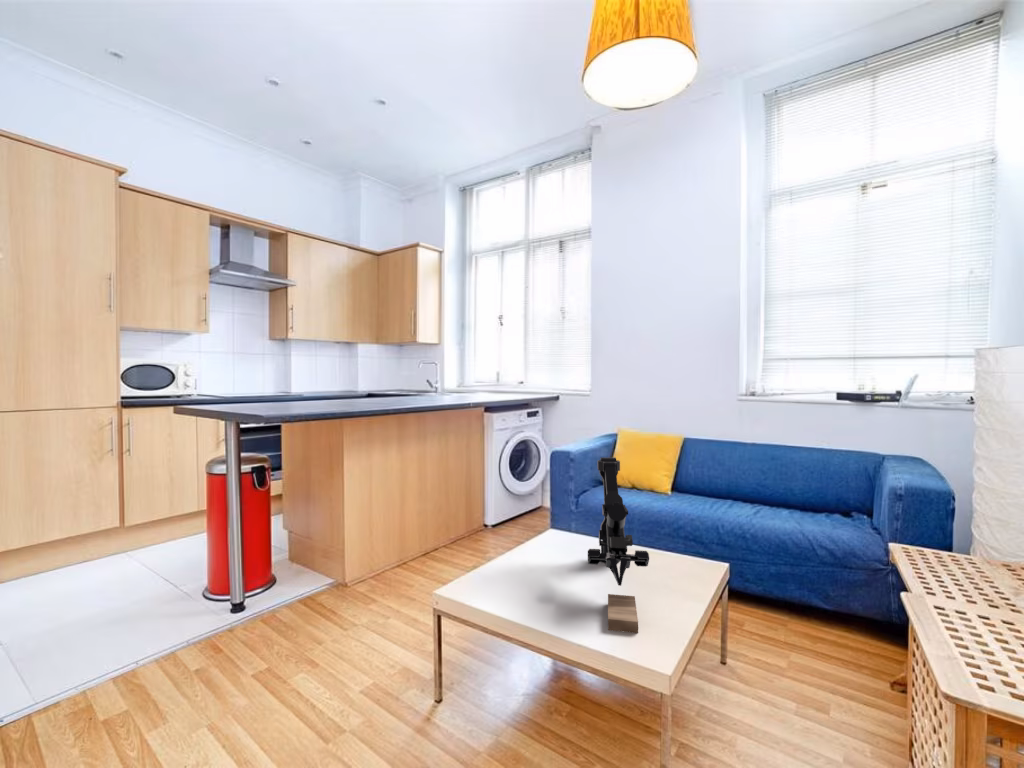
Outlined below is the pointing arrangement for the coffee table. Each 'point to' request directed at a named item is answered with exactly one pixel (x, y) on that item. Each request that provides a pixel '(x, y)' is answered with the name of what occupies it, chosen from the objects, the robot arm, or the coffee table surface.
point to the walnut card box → (622, 613)
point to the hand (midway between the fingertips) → (619, 585)
